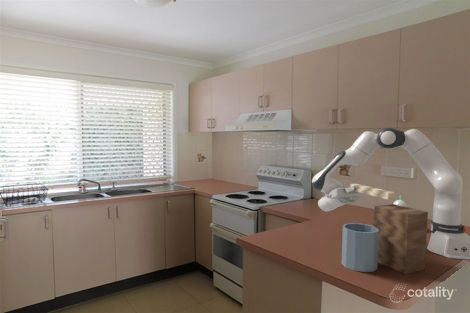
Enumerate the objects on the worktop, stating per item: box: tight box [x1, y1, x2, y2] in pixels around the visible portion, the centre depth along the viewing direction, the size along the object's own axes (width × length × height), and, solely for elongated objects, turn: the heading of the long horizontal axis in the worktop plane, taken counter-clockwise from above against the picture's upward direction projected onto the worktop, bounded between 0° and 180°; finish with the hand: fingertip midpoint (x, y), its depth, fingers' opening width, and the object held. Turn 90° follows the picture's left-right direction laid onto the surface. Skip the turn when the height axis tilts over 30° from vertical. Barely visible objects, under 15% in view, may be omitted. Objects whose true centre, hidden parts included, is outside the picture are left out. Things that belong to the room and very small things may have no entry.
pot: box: [341, 222, 379, 273], centre depth 130 cm, size 14×14×16 cm
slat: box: [349, 183, 396, 201], centre depth 144 cm, size 22×4×3 cm, turn 24°
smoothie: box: [392, 194, 409, 208], centre depth 185 cm, size 8×8×20 cm
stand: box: [373, 203, 429, 275], centre depth 131 cm, size 16×12×24 cm
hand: (358, 187), depth 150 cm, fingers closed on slat, 4 cm apart
